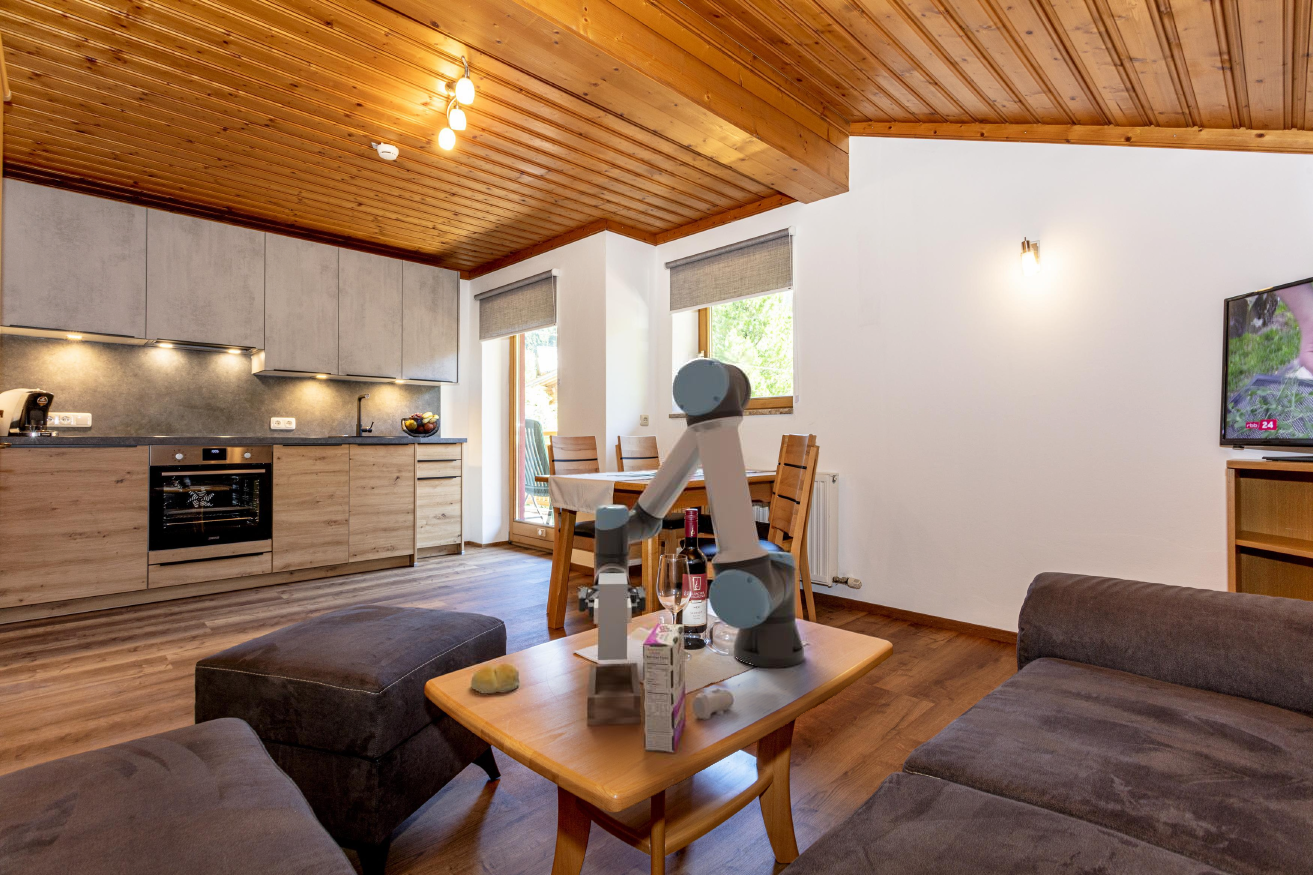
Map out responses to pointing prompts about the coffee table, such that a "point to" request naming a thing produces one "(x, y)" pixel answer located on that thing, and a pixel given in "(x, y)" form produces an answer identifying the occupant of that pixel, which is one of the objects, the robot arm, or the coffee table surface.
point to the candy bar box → (664, 687)
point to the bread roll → (495, 679)
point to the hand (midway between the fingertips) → (612, 615)
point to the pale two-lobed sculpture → (712, 703)
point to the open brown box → (613, 694)
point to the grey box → (612, 616)
